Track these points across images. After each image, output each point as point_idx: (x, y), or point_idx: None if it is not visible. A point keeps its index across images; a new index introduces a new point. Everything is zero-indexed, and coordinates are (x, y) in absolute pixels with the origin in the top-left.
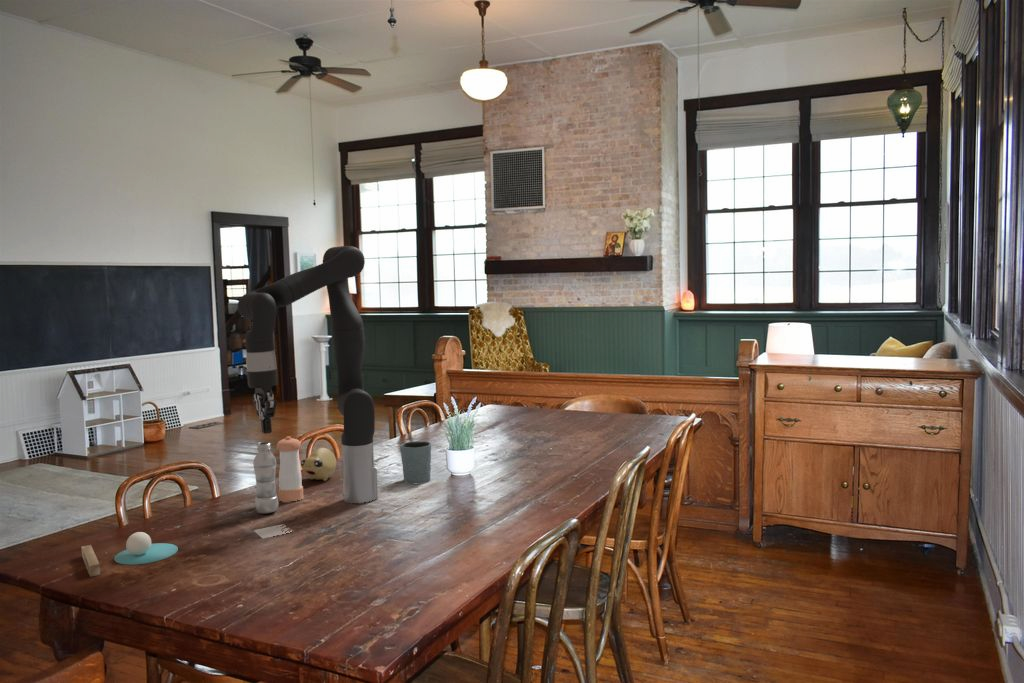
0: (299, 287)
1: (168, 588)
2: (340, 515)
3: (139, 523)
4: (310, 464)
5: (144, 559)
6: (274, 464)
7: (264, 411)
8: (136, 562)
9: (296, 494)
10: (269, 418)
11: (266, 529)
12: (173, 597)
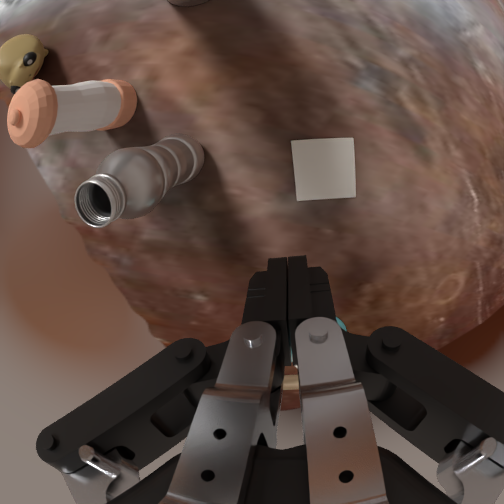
0: None
1: (435, 323)
2: (288, 26)
3: (164, 330)
4: (27, 73)
5: None
6: (150, 154)
7: (401, 424)
8: None
9: (128, 92)
10: (352, 340)
11: (307, 178)
12: (456, 319)
